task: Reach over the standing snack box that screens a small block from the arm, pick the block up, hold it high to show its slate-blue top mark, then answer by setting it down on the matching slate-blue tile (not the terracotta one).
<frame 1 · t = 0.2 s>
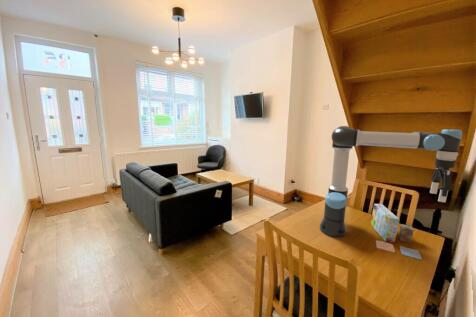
hand: (437, 197, 112), 28 cm above the table, fingers open, 13 cm apart
slate tile: (410, 252, 109), on the table
snack box: (381, 233, 128), on the table
block: (404, 239, 121), on the table
terracotta tile: (384, 246, 114), on the table
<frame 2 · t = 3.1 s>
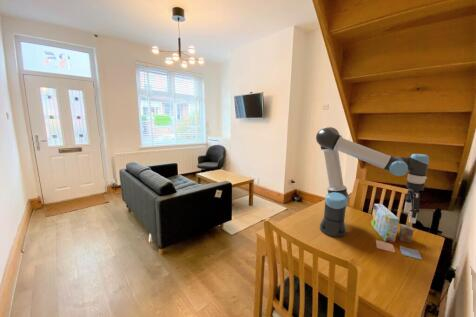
hand: (409, 217, 118), 14 cm above the table, fingers open, 13 cm apart
nothing on the table moved.
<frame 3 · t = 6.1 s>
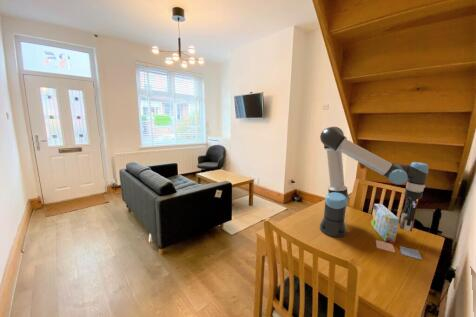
hand: (405, 227, 120), 7 cm above the table, fingers closed on block, 5 cm apart
block: (405, 228, 120), point 7 cm above the table, touching gripper
everything else where it was.
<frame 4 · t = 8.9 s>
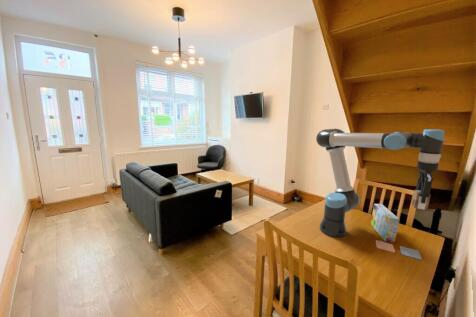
hand: (419, 206, 104), 26 cm above the table, fingers closed on block, 5 cm apart
block: (419, 207, 104), point 26 cm above the table, touching gripper
everything else where it was.
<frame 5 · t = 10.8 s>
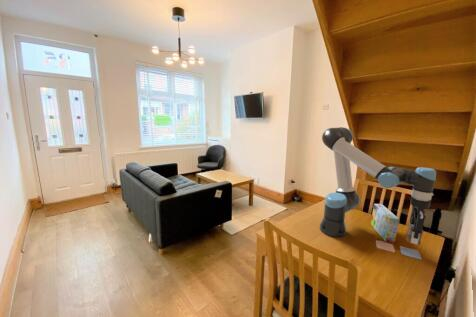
hand: (412, 240, 108), 8 cm above the table, fingers closed on block, 5 cm apart
block: (412, 240, 108), point 7 cm above the table, touching gripper
everything else where it was.
when the fingers open (1 cm above the table, at t = 12.1 s): block stays where it is, resting on slate tile.
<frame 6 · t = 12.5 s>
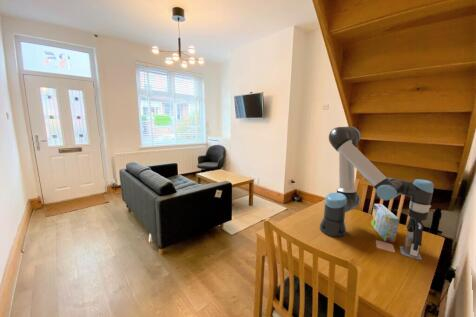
hand: (410, 248, 109), 2 cm above the table, fingers open, 11 cm apart
block: (410, 252, 109), resting on slate tile
everything else where it was.
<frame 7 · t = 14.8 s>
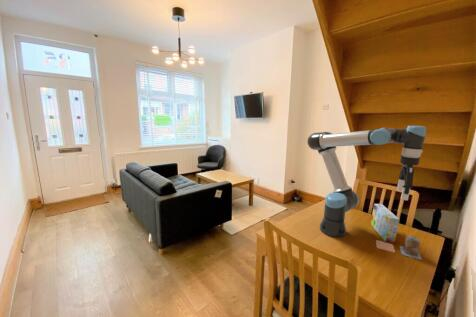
hand: (401, 195, 110), 30 cm above the table, fingers open, 13 cm apart
nothing on the table moved.
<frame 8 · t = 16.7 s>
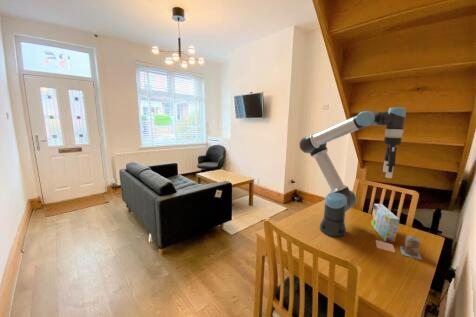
hand: (387, 174, 116), 39 cm above the table, fingers open, 13 cm apart
nothing on the table moved.
at the end: block inside the target area on the slate tile (0.0 cm from its centre), point 0.4 cm above the slate tile's base; block tilted 0°; the gripper is holding nothing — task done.
